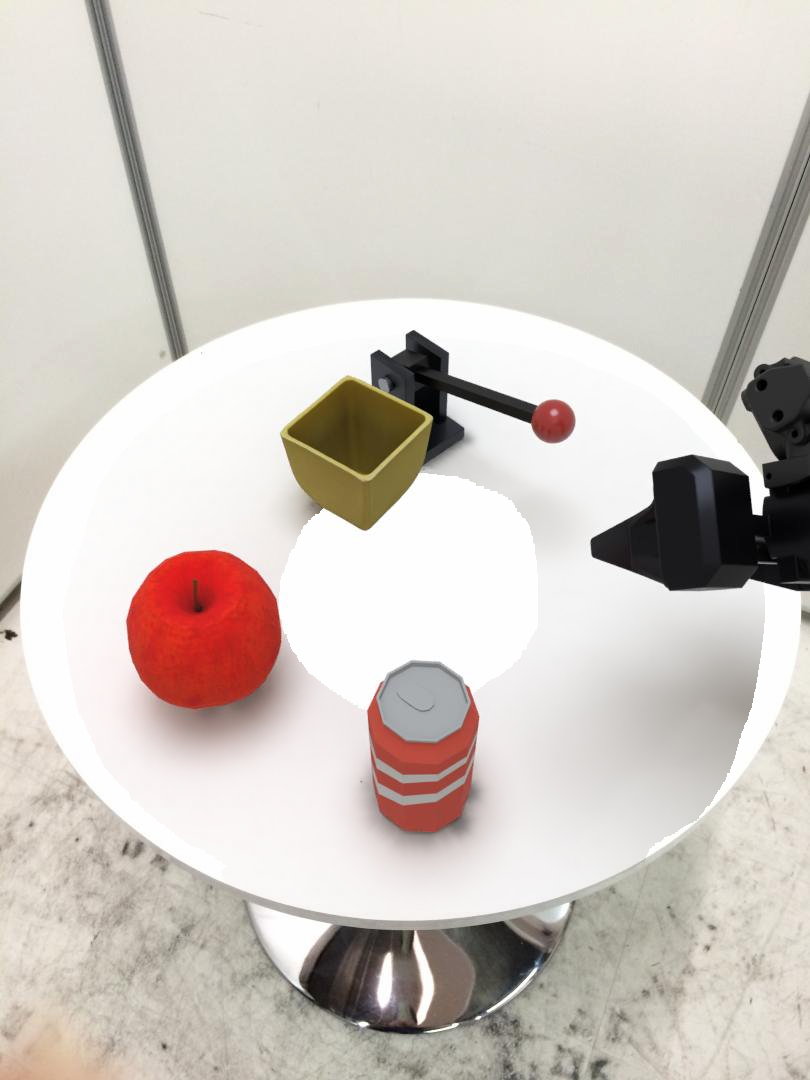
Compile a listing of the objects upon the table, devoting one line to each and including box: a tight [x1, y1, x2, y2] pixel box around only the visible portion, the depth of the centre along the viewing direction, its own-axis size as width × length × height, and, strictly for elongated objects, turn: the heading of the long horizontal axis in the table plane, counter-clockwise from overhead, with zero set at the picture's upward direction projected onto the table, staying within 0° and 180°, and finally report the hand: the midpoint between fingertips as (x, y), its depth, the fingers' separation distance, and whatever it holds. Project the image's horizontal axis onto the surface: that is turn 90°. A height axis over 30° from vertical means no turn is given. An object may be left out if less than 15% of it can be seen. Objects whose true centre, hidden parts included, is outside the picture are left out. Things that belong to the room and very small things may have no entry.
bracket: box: [369, 329, 465, 465], centre depth 76 cm, size 8×6×9 cm
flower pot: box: [279, 374, 433, 532], centre depth 70 cm, size 9×9×9 cm
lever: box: [390, 348, 577, 444], centre depth 69 cm, size 19×3×3 cm, turn 43°
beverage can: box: [366, 659, 480, 833], centre depth 53 cm, size 6×6×12 cm
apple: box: [125, 549, 282, 711], centre depth 58 cm, size 10×10×12 cm
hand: (639, 550), depth 52 cm, fingers open, 9 cm apart
